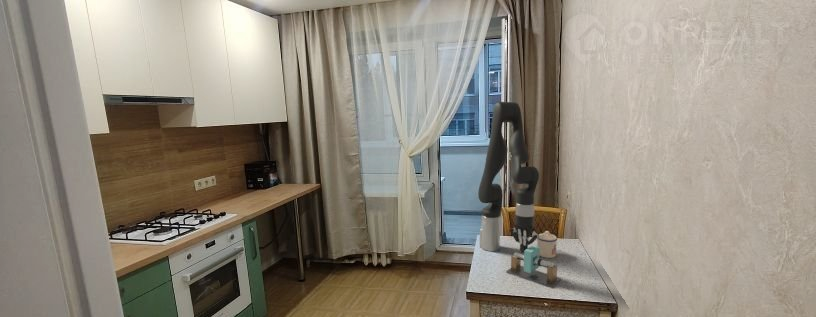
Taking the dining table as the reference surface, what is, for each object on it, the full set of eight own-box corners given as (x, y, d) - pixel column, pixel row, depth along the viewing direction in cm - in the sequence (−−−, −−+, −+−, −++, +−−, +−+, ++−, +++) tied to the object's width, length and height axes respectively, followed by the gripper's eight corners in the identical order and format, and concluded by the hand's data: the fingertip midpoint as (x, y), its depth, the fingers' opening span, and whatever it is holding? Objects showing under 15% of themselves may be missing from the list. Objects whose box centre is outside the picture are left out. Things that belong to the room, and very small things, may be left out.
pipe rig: (506, 272, 157) (506, 254, 156) (516, 265, 163) (516, 248, 162) (551, 288, 143) (552, 267, 142) (561, 280, 149) (561, 260, 148)
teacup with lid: (556, 259, 169) (557, 235, 168) (535, 256, 173) (536, 233, 171) (556, 250, 180) (557, 227, 178) (537, 247, 184) (538, 225, 182)
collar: (523, 271, 152) (524, 250, 150) (532, 264, 157) (532, 245, 156) (530, 273, 149) (531, 252, 148) (539, 266, 155) (539, 247, 154)
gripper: (506, 212, 154) (505, 251, 157) (535, 218, 145) (534, 259, 148) (514, 208, 160) (513, 246, 162) (543, 214, 150) (542, 254, 153)
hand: (523, 252), depth 155 cm, fingers closed
